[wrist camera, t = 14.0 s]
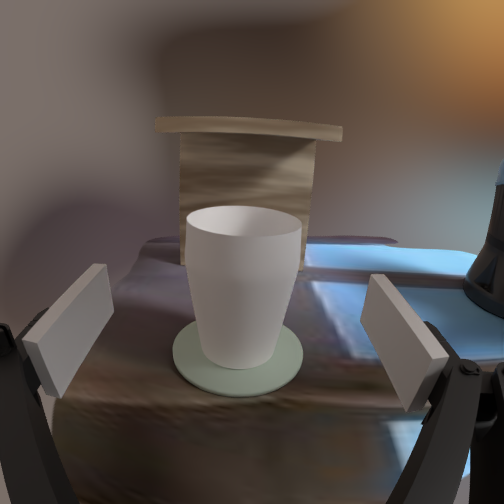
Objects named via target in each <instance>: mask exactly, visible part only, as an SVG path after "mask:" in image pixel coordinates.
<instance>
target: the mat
mask: <svg viewBox="0 0 504 504" xmlns="http://www.w3.org/2000/svg"><path fill="white" fill-rule="evenodd" d="M172 349H173V359H174V363H175V365H176V367H177V369H178V371H179V372H180V374H181V375H182V376H183V377H184V378H185V379H186V380H187V381H189V382H190V383H191V384H193V385H195V386H196V387H198V388H200V389H202V390H205V391H207V392H210V393H213V394H216V395H221V396H227V397H253V396H260V395H264V394H267V393H270V392H273V391H276V390H277V389H279V388H281V387H283V386H285V385H286V384H287V383H289V382H290V381H291V380H292V379H293V378H294V377H295V376H296V374H297V373H298V371H299V369H300V367H301V364H302V359H303V349H302V345H301V343H300V341H299V339H298V338H297V336H296V335H295V334H294V333H293V332H292V331H291V330H290V329H288V328H287V327H286V326H284V325H282V327H281V330H280V333H279V337H278V340H277V343H276V346H275V349H274V352H273V355H272V356H271V358H270V359H269V360H268V361H267V362H265V363H264V364H262V365H259V366H257V367H254V368H249V369H231V368H226V367H222V366H220V365H217V364H215V363H213V362H212V361H210V360H209V359H208V358H207V357H206V356H205V354H204V353H203V350H202V347H201V342H200V337H199V333H198V328H197V323H196V321H194V322H192V323H190V324H188V325H187V326H186V327H184V328H183V329H182V330H181V331H180V332H179V333H178V335H177V336H176V338H175V340H174V343H173V348H172Z"/></svg>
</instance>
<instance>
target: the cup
mask: <svg viewBox="0 0 504 504" xmlns="http://www.w3.org/2000/svg"><path fill="white" fill-rule="evenodd" d="M301 230H302V223H301V221H300V220H299V219H298V218H296V217H294V216H292V215H290V214H287V213H284V212H281V211H277V210H273V209H267V208H261V207H251V206H218V207H210V208H204V209H200V210H197V211H194V212H192V213H190V214H189V215H188V216H187V221H186V244H185V264H186V270H187V276H188V281H189V287H190V292H191V298H192V303H193V308H194V313H195V318H196V323H197V328H198V333H199V337H200V342H201V347H202V350H203V353H204V354H205V356H206V357H207V358H208V359H209V360H210V361H212V362H213V363H215V364H217V365H220V366H222V367H226V368H231V369H249V368H254V367H257V366H259V365H262V364H264V363H265V362H267V361H268V360H269V359H270V358H271V356H272V355H273V352H274V349H275V346H276V343H277V340H278V337H279V333H280V330H281V327H282V324H283V320H284V317H285V314H286V310H287V307H288V304H289V300H290V297H291V293H292V290H293V286H294V283H295V279H296V276H297V272H298V269H299V264H300V253H301Z"/></svg>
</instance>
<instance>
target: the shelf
mask: <svg viewBox="0 0 504 504" xmlns="http://www.w3.org/2000/svg"><path fill="white" fill-rule="evenodd" d="M155 123H156V124H155V132H167V133H181V140H180V260H181V265H186V264H185V244H186V221H187V216H188V215H189V214H190V213H192V212H194V211H197V210H200V209H204V208H210V207H218V206H251V207H261V208H267V209H273V210H277V211H281V212H284V213H287V214H290V215H292V216H294V217H296V218H298V219H299V220H300V221H301V223H302V230H301V253H300V264H299V269H298V271H303V265H304V257H305V249H306V240H307V231H308V222H309V213H310V204H311V194H312V183H313V171H314V161H315V148H316V140H327V141H339V142H342V133H343V127H341V126H333V125H325V124H317V123H309V122H299V121H288V120H276V119H261V118H243V117H208V116H207V117H206V116H204V117H203V116H195V117H193V116H190V117H189V116H188V117H156V122H155Z"/></svg>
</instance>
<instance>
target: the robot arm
mask: <svg viewBox="0 0 504 504" xmlns="http://www.w3.org/2000/svg"><path fill="white" fill-rule="evenodd" d="M495 186H496V192H495V199H494V204H493V210H492V214H491V219H490V224H489V228H488V233H487V237H486V241H485V244H484V246H483V248H482V250H481V251H480V253H479V255H478V256H477V258H476V259H475V261H474V263H473V264H472V266H471V267H470V269H469V271H468V272H467V274H466V278H465V281H464V284H463V289H464V291H465V293H466V294H467V295H468V297H469V298H470V299H471V300H473V301H474V302H475V303H476V304H478V305H479V306H481V307H482V308H484V309H485V310H487V311H489V312H491V313H493V314H495V315H498V316H500V317H503V318H504V159H503V160H502V162H501V164H500V167H499V173H498V179H497V182H496V184H495ZM113 313H114V307H113V301H112V296H111V290H110V284H109V278H108V271H107V265H106V264H93V265H91V266H90V267H89V268H88V269H87V270H86V271H85V273H83V274H82V275H81V276H80V277H79V278H78V279H77V280H76V281H75V282H74V283H73V284H72V285H71V287H69V289H67V291H66V292H65V293H64V294H63V295H62V296H61V297H60V298H59V299H58V300H57V301H56V302H55V303H54V304H53V305H52V306H51V307H50V308H46V309H45V310H43V311H41V312H40V313H38V314H37V316H36V317H35V318H34V319H33V321H31V322H30V323H29V324H28V326H26V327H25V329H24V330H23V331H22V332H21V333H20V334H19V335H18V336H17V337H16V339H15V340H14V338H13V335H12V333H11V330H10V327H9V326H8V325H7V324H3V323H0V462H1V466H2V471H3V475H4V479H5V483H6V487H7V490H8V494H9V498H10V501H11V504H79V501H78V499H77V497H76V495H75V493H74V491H73V489H72V486H71V484H70V482H69V480H68V477H67V475H66V473H65V470H64V468H63V465H62V463H61V460H60V457H59V455H58V452H57V449H56V447H55V444H54V441H53V438H52V435H51V432H50V429H49V426H48V423H47V419H46V416H45V413H44V409H43V406H42V402H41V398H40V396H39V393H38V391H37V389H38V388H39V386H40V385H42V387H43V389H44V391H45V393H46V395H50V396H53V397H57V398H60V399H61V398H62V396H63V394H64V393H65V391H66V389H67V387H68V386H69V384H70V382H71V380H72V379H73V377H74V375H75V374H76V372H77V370H78V369H79V367H80V365H81V364H82V362H83V360H84V359H85V357H86V355H87V354H88V352H89V350H90V349H91V347H92V346H93V344H94V342H95V341H96V339H97V338H98V336H99V334H100V333H101V331H102V330H103V328H104V326H105V325H106V323H107V322H108V320H109V319H110V317H111V316H112V314H113ZM360 321H361V323H362V325H363V327H364V329H365V331H366V333H367V335H368V337H369V339H370V341H371V343H372V344H373V346H374V348H375V350H376V352H377V354H378V356H379V358H380V360H381V362H382V364H383V366H384V368H385V370H386V372H387V374H388V376H389V378H390V380H391V382H392V384H393V387H394V389H395V391H396V393H397V395H398V397H399V399H400V401H401V403H402V405H403V408H404V410H405V412H406V413H408V412H413V411H418V410H422V409H423V407H424V405H425V404H426V402H427V400H429V402H430V404H431V405H432V406H431V408H430V410H429V411H428V413H427V415H426V416H425V418H424V420H423V421H422V423H421V424H422V425H423V427H422V429H421V432H420V434H419V437H418V439H417V441H416V444H415V446H414V448H413V451H412V453H411V455H410V457H409V459H408V461H407V464H406V466H405V468H404V470H403V472H402V474H401V476H400V478H399V480H398V482H397V484H396V486H395V488H394V489H393V491H392V493H391V495H390V497H389V499H388V500H387V502H386V504H453V502H454V500H455V497H456V494H457V491H458V488H459V485H460V482H461V478H462V475H463V472H464V468H465V465H466V461H467V457H468V453H469V449H470V493H469V504H504V362H501V363H499V364H498V365H497V367H496V369H495V371H494V372H484V371H482V370H481V368H480V367H479V366H478V365H477V364H476V363H475V362H473V361H471V360H467V359H460V358H459V356H458V355H457V354H456V352H455V351H454V350H453V348H452V347H451V346H450V345H449V343H448V342H446V339H445V338H444V337H443V336H441V335H442V334H441V333H440V332H439V331H438V329H437V328H436V327H435V326H433V325H432V324H430V323H429V322H428V321H424V322H423V321H422V320H421V318H420V317H419V316H418V315H417V313H416V312H415V311H414V310H413V308H412V307H411V306H410V305H409V304H408V302H407V301H406V300H405V299H404V297H403V296H402V295H401V294H400V293H399V291H398V290H397V289H396V288H395V287H394V285H393V284H392V283H391V282H390V281H389V279H388V278H387V277H386V276H385V275H384V274H371V275H370V280H369V284H368V289H367V293H366V298H365V302H364V306H363V311H362V315H361V319H360Z"/></svg>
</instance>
